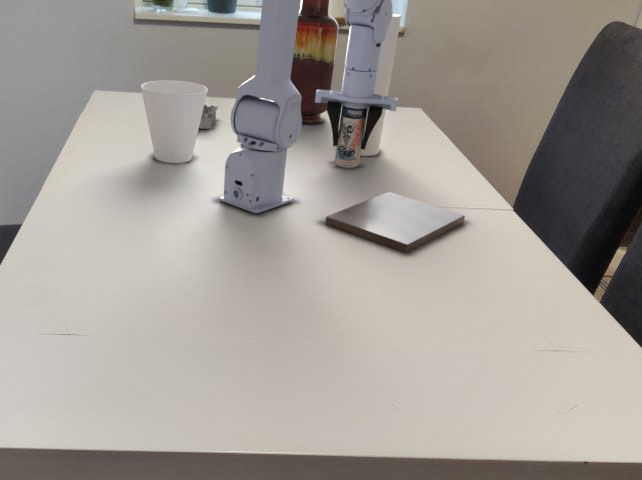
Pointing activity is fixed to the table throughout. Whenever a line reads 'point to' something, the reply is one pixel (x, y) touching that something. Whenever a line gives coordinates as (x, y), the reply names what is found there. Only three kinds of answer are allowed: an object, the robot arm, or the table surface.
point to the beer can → (350, 134)
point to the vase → (313, 56)
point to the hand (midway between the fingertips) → (349, 146)
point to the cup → (173, 117)
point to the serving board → (395, 221)
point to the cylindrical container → (383, 81)
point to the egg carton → (208, 117)
